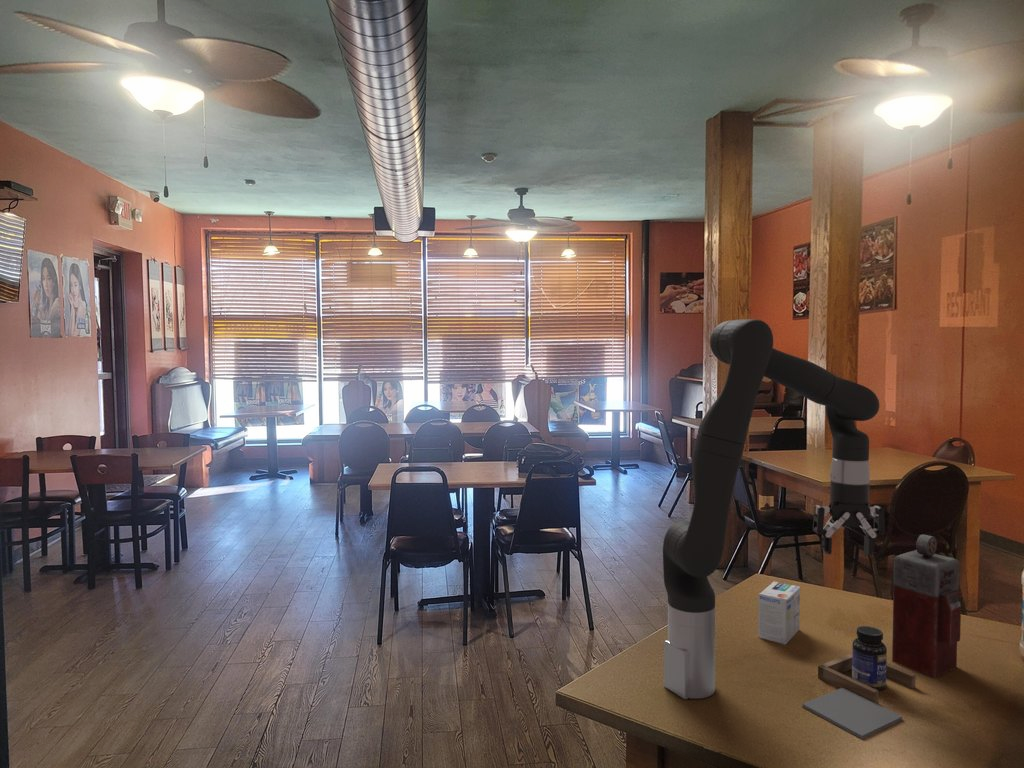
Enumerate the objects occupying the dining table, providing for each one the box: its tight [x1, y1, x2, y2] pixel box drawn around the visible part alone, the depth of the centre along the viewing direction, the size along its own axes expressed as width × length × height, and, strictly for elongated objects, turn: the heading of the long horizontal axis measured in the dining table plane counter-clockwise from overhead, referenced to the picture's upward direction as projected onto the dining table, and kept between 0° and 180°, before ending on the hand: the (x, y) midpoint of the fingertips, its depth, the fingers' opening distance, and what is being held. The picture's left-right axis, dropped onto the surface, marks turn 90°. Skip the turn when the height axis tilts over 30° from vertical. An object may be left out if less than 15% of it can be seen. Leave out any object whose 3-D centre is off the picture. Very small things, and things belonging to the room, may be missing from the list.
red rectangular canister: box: [891, 534, 962, 679], centre depth 141 cm, size 9×11×28 cm
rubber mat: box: [802, 688, 903, 740], centre depth 124 cm, size 12×12×1 cm
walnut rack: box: [817, 653, 917, 705], centre depth 135 cm, size 13×12×2 cm
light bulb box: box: [757, 581, 801, 645], centre depth 158 cm, size 11×7×11 cm, turn 141°
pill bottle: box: [851, 625, 888, 691], centre depth 134 cm, size 6×6×11 cm
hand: (847, 553), depth 144 cm, fingers open, 8 cm apart
